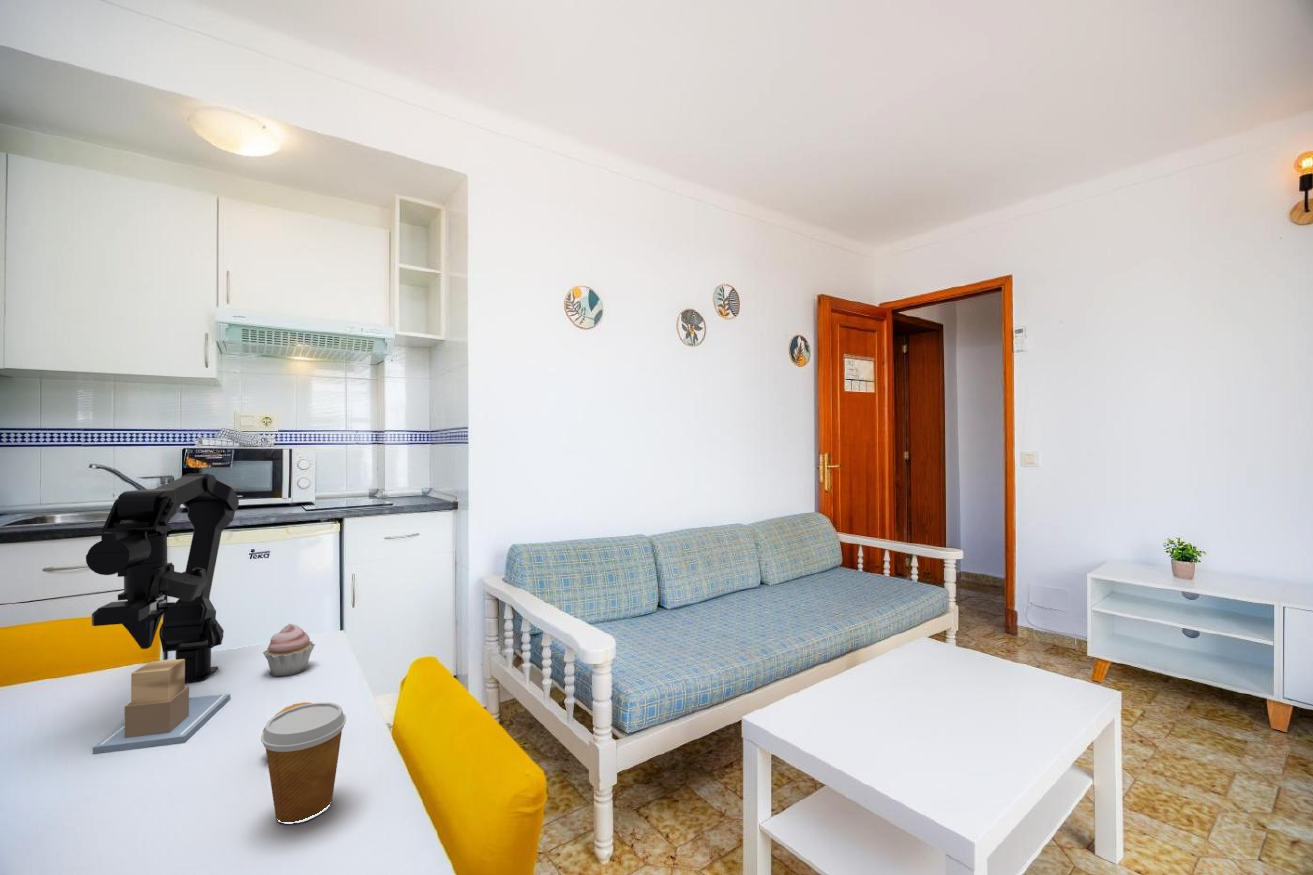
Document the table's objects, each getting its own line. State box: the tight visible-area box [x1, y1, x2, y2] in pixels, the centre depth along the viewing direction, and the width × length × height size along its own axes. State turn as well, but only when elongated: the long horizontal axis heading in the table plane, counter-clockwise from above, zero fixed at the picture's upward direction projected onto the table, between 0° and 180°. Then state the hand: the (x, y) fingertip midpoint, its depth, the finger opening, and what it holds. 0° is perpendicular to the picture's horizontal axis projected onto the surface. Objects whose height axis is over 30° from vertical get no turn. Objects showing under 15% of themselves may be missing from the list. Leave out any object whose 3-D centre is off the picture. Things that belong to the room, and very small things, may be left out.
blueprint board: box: [92, 686, 231, 755], centre depth 96 cm, size 16×12×6 cm
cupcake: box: [262, 623, 316, 677], centre depth 119 cm, size 9×9×10 cm
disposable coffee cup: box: [260, 702, 347, 822], centre depth 74 cm, size 10×10×12 cm
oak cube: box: [130, 659, 186, 705], centre depth 94 cm, size 5×5×5 cm
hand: (146, 648), depth 100 cm, fingers closed
